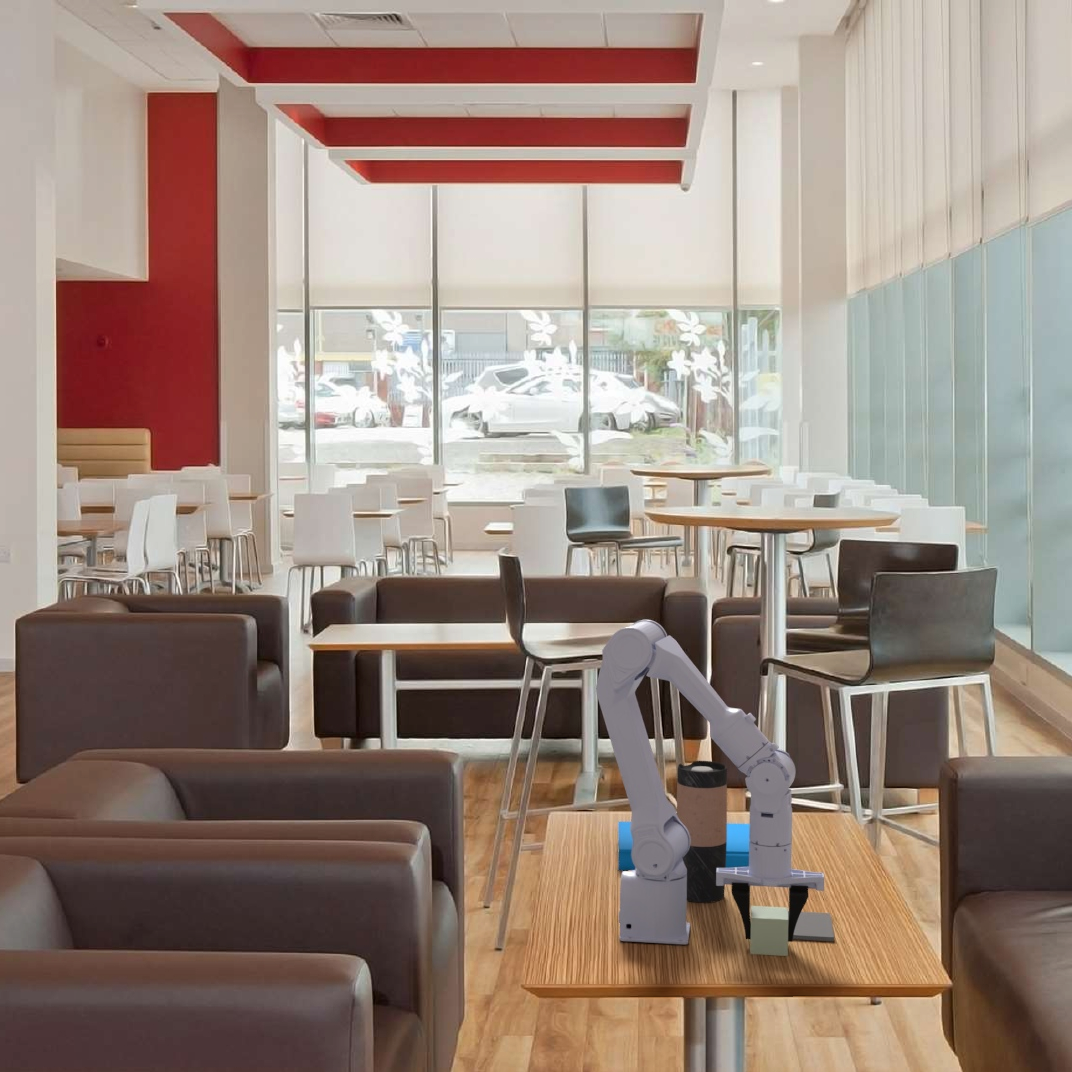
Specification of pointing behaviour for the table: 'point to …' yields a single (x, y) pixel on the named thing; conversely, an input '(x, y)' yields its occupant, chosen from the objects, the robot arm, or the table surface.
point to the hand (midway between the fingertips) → (768, 938)
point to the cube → (769, 930)
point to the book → (734, 850)
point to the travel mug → (703, 826)
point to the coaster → (814, 927)
